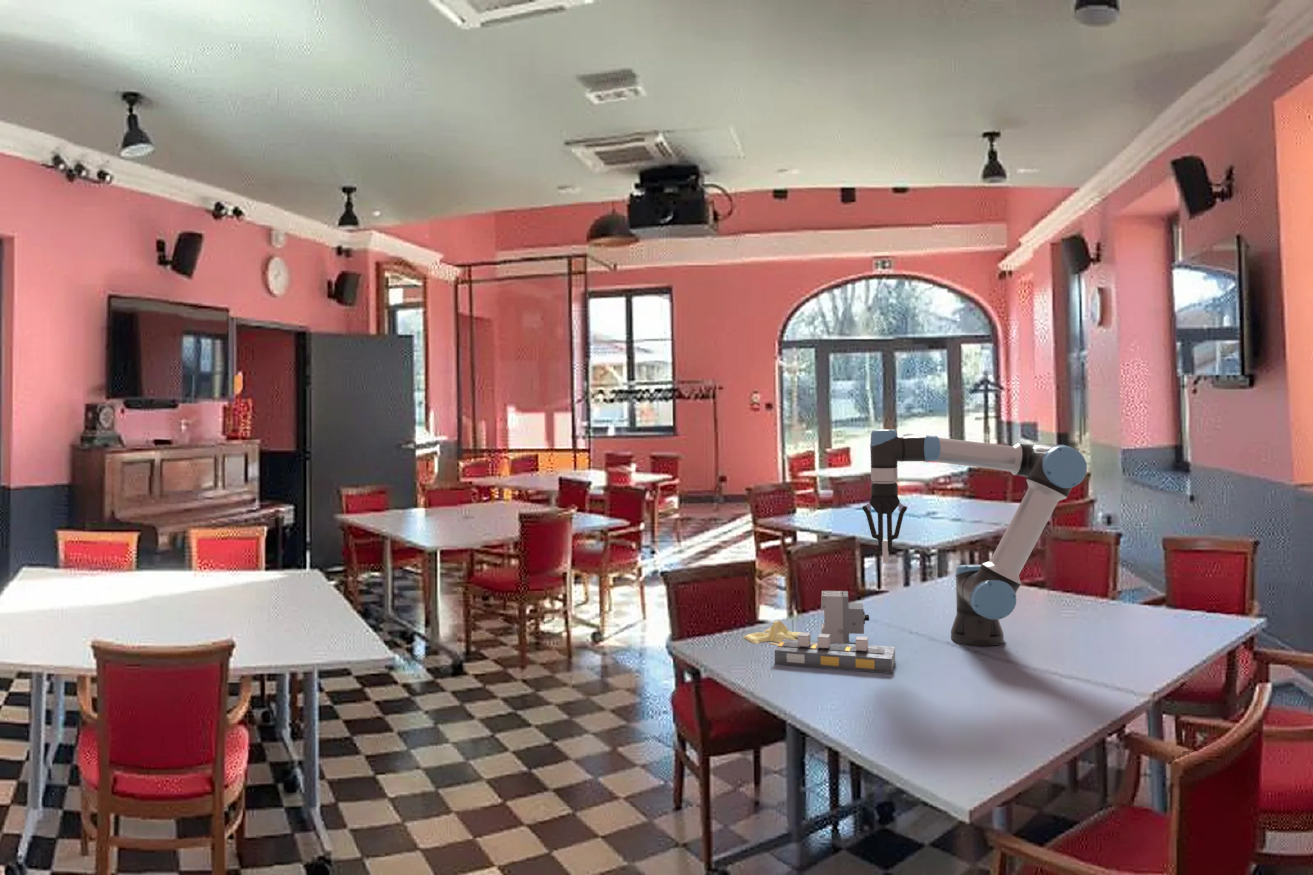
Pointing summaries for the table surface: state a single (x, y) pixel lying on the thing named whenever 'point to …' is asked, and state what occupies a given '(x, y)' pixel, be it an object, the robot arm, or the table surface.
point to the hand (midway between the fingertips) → (885, 562)
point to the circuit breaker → (841, 616)
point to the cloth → (773, 634)
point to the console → (836, 656)
